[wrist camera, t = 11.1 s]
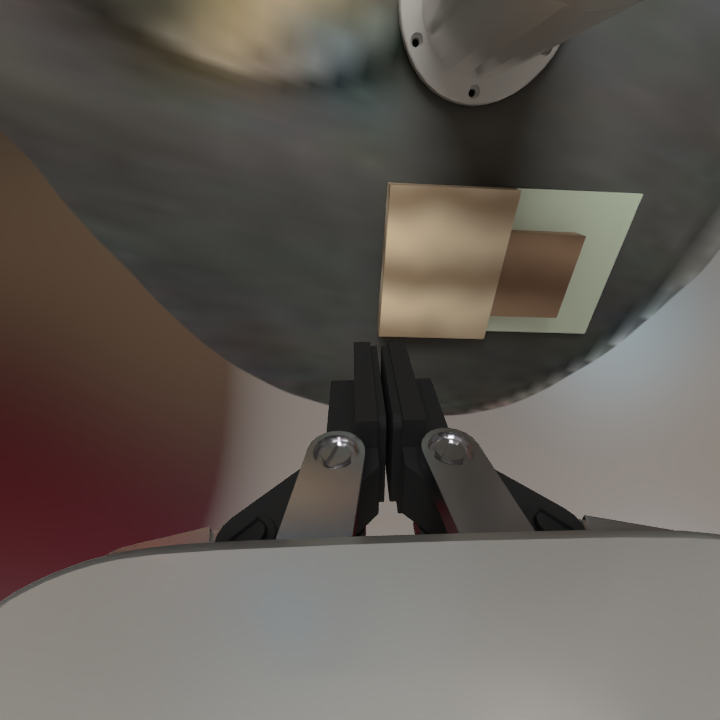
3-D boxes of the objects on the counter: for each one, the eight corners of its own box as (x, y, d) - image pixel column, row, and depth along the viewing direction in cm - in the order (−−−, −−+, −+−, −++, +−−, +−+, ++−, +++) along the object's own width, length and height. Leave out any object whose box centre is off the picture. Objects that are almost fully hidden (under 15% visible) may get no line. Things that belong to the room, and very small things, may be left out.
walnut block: (502, 229, 32) (509, 233, 31) (575, 232, 33) (586, 236, 31) (483, 309, 36) (488, 315, 35) (547, 311, 37) (556, 318, 35)
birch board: (387, 182, 31) (390, 184, 28) (509, 187, 31) (521, 190, 29) (377, 325, 38) (378, 336, 36) (476, 328, 38) (483, 339, 36)
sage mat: (515, 188, 31) (517, 188, 31) (639, 193, 31) (643, 194, 31) (480, 328, 38) (482, 330, 38) (582, 331, 39) (584, 333, 38)
